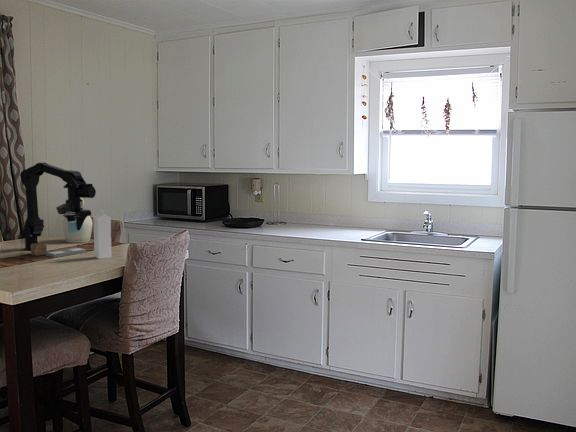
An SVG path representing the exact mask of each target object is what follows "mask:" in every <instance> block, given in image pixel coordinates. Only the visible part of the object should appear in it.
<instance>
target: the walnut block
mask: <svg viewBox="0 0 576 432" xmlns="http://www.w3.org/2000/svg"><path fill="white" fill-rule="evenodd" d="M47 250H48V249H47V243H44V242H38V243H36V244H31V250H30V255H33V256H44V255H46V253H47V252H48V251H47Z"/></svg>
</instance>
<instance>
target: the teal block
mask: <svg viewBox="0 0 576 432" xmlns="http://www.w3.org/2000/svg"><path fill="white" fill-rule="evenodd" d="M68 232H71V233H78V232H83V224H82V227H81V229H80V230H77V224H76V221H70V222H68Z"/></svg>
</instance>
